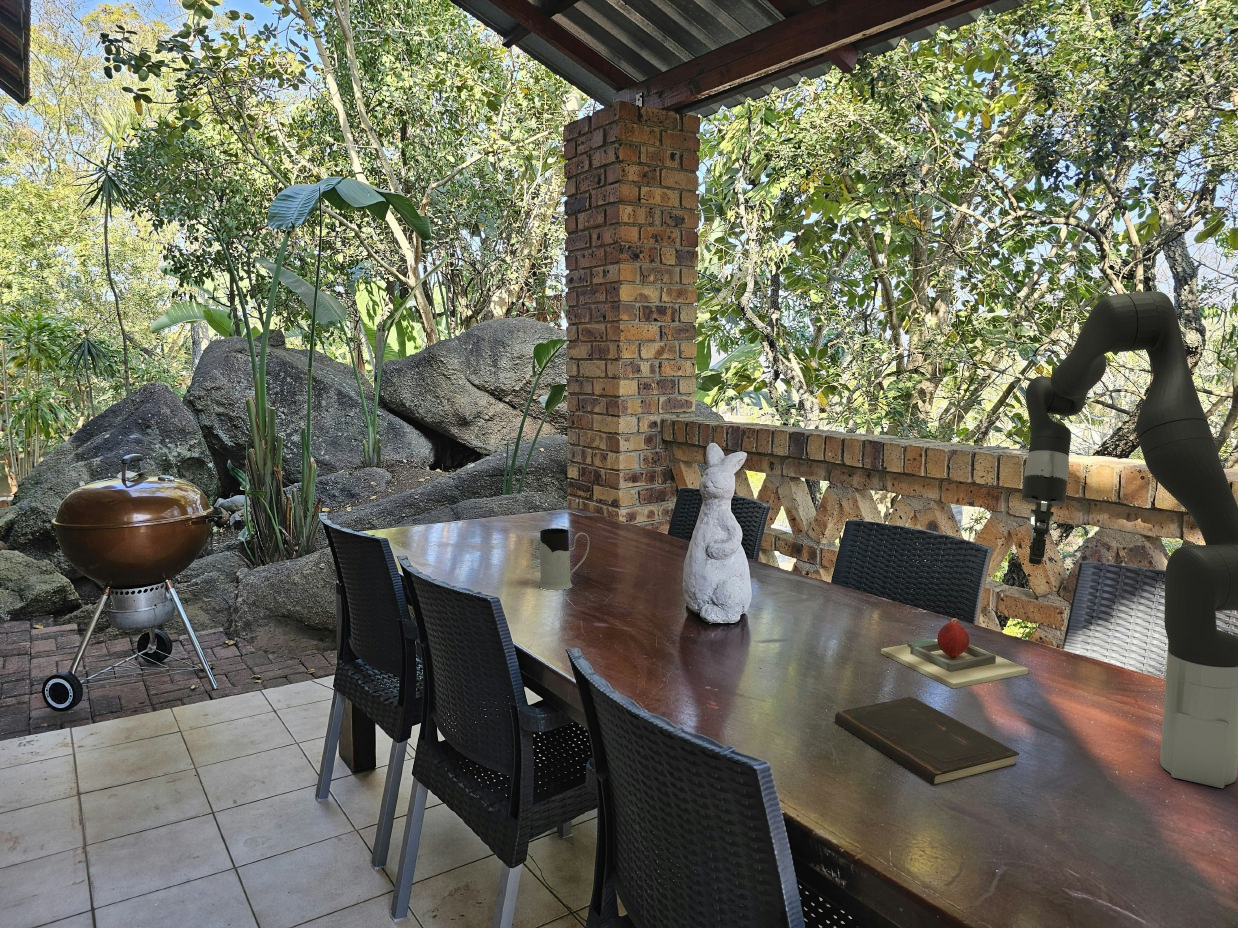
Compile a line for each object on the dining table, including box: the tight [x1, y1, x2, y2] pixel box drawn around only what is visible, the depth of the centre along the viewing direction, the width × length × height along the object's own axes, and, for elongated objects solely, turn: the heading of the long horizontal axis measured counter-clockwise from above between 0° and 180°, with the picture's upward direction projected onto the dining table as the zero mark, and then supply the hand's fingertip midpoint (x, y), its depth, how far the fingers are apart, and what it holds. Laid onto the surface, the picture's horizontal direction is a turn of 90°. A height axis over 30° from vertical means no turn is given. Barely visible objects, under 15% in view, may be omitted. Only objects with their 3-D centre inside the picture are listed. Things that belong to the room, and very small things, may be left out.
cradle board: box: [880, 638, 1029, 689], centre depth 168 cm, size 20×18×2 cm
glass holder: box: [539, 527, 590, 591], centre depth 227 cm, size 9×14×15 cm, turn 115°
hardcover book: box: [834, 696, 1020, 786], centre depth 134 cm, size 16×23×2 cm
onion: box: [936, 618, 970, 658], centre depth 167 cm, size 6×6×8 cm
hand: (1035, 561), depth 161 cm, fingers open, 8 cm apart
